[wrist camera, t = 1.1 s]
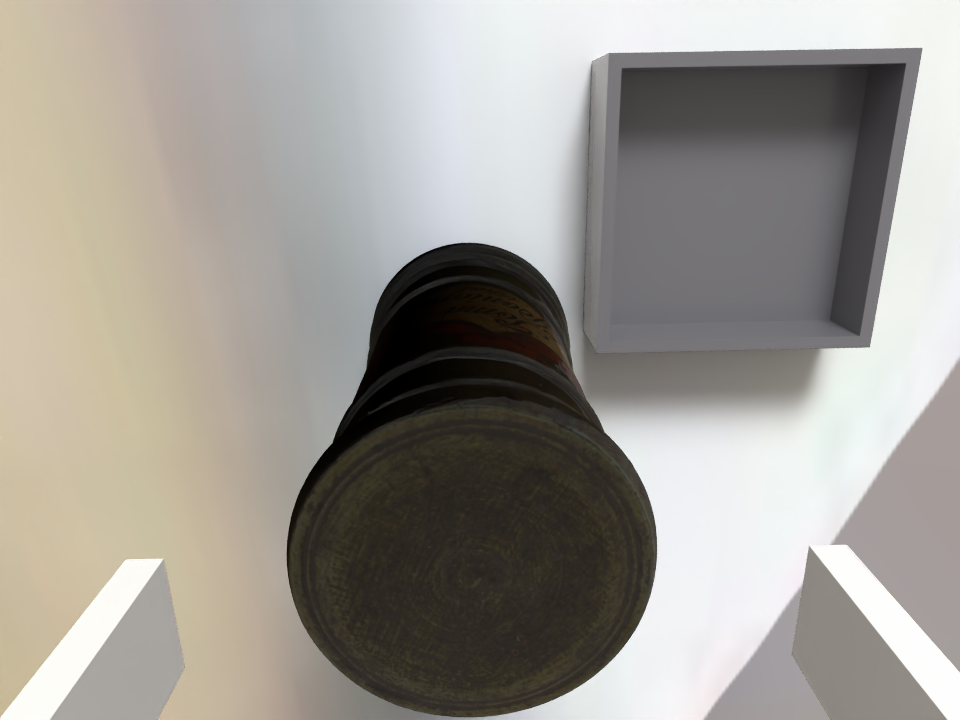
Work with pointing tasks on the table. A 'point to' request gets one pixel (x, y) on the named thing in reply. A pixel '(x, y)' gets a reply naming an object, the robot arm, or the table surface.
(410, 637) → the container
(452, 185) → the table surface
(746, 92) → the tray
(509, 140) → the table surface
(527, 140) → the table surface
